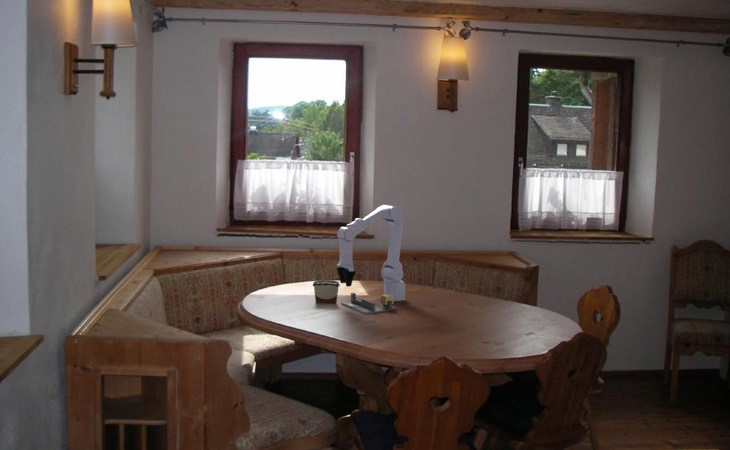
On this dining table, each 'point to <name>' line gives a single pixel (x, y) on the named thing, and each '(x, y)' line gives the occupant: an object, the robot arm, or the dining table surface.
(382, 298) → the clip
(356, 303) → the rail
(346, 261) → the robot arm
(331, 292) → the food container
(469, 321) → the dining table surface
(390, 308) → the grey finned base plate
